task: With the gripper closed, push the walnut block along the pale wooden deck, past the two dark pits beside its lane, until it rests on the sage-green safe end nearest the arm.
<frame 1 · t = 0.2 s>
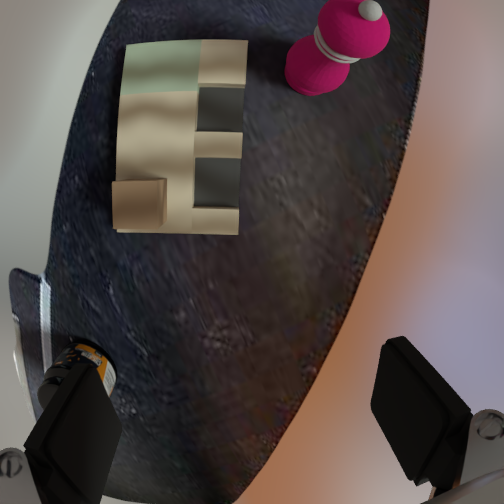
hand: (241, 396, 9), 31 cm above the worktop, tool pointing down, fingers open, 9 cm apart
pepper mill: (307, 74, 34), on the worktop
walnut block: (146, 199, 34), point 2 cm above the worktop, touching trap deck
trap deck: (180, 133, 35), on the worktop
supplement container: (91, 363, 43), on the worktop
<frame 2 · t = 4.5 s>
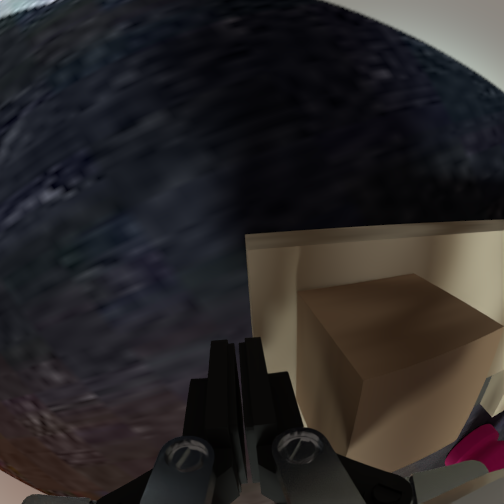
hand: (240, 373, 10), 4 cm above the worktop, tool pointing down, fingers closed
pepper mill: (467, 443, 20), on the worktop
walnut block: (356, 339, 11), point 3 cm above the worktop, tilted 5°, touching gripper, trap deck
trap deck: (449, 341, 15), on the worktop
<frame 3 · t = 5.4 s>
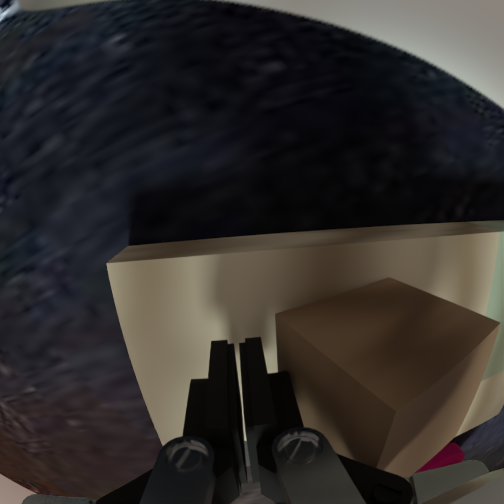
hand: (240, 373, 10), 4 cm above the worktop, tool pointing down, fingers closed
pepper mill: (430, 461, 20), on the worktop
walnut block: (337, 354, 11), point 3 cm above the worktop, tilted 20°, touching gripper, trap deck
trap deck: (380, 360, 15), on the worktop
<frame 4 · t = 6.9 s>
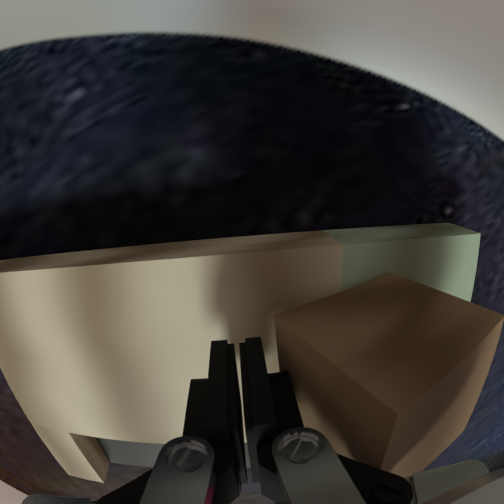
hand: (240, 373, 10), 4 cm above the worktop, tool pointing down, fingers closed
walnut block: (339, 352, 10), point 3 cm above the worktop, tilted 19°, touching gripper
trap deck: (221, 384, 14), on the worktop
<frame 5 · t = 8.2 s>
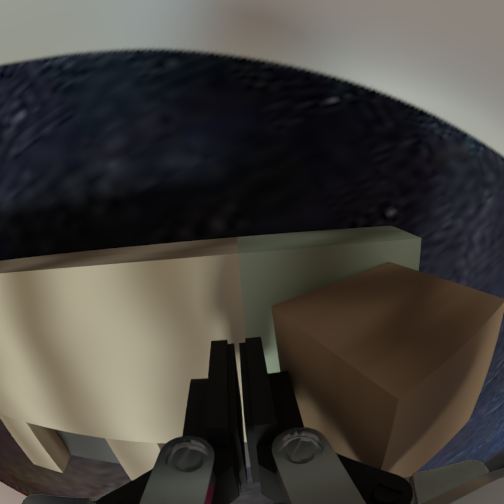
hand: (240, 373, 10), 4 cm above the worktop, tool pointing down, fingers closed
walnut block: (340, 344, 10), point 3 cm above the worktop, tilted 20°, touching gripper, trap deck
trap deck: (155, 385, 14), on the worktop
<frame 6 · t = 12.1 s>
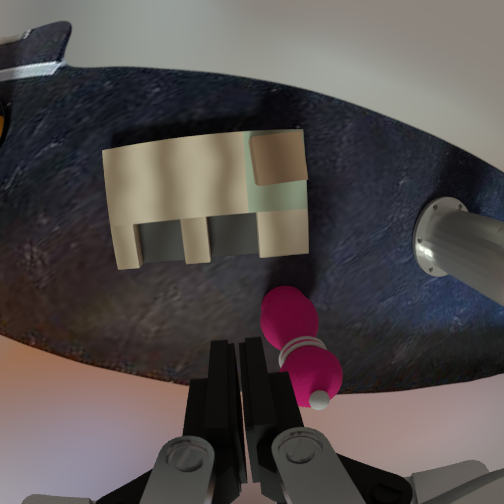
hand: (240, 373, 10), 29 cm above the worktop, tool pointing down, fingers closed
pepper mill: (283, 305, 42), on the worktop
walnut block: (273, 159, 34), point 2 cm above the worktop, touching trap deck
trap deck: (205, 197, 37), on the worktop
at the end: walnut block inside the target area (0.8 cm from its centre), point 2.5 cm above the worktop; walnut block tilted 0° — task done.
